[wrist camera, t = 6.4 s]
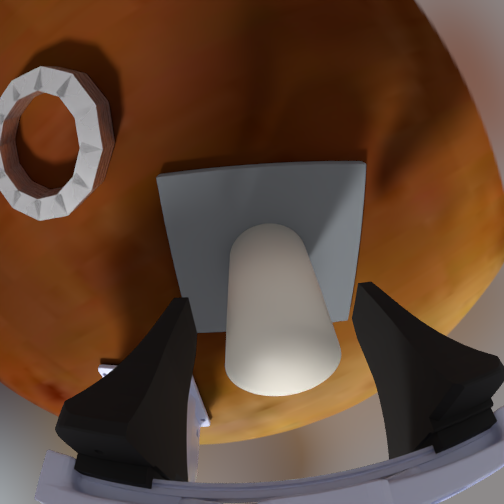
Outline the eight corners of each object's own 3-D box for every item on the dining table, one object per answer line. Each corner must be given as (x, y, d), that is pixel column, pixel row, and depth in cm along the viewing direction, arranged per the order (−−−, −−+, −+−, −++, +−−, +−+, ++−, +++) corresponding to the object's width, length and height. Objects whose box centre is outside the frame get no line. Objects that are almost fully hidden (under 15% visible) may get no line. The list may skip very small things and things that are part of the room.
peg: (306, 284, 17) (335, 387, 11) (235, 292, 17) (234, 399, 11) (305, 219, 15) (346, 316, 9) (224, 228, 15) (214, 332, 9)
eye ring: (125, 197, 14) (115, 208, 13) (20, 216, 14) (7, 227, 13) (104, 48, 10) (90, 45, 9) (-5, 96, 10) (-21, 100, 9)
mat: (345, 314, 19) (347, 320, 18) (192, 326, 19) (191, 333, 18) (361, 160, 14) (366, 163, 13) (159, 174, 14) (156, 177, 13)
